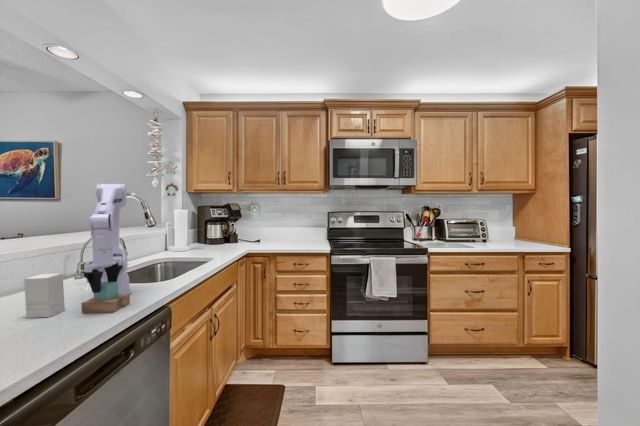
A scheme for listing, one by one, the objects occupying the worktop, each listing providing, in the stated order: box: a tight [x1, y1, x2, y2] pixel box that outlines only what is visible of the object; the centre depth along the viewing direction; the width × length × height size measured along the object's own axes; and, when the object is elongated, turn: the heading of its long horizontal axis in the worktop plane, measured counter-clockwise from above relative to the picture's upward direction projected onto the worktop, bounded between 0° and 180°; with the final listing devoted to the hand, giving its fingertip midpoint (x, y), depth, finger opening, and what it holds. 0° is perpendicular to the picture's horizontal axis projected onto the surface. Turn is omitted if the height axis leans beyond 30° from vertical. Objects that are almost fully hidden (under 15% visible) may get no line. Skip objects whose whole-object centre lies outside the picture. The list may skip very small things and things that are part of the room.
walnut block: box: [81, 294, 131, 315], centre depth 118 cm, size 10×10×4 cm
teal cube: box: [93, 281, 118, 300], centre depth 118 cm, size 5×5×5 cm
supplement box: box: [23, 273, 66, 319], centre depth 113 cm, size 7×7×13 cm
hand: (104, 289), depth 117 cm, fingers open, 7 cm apart
